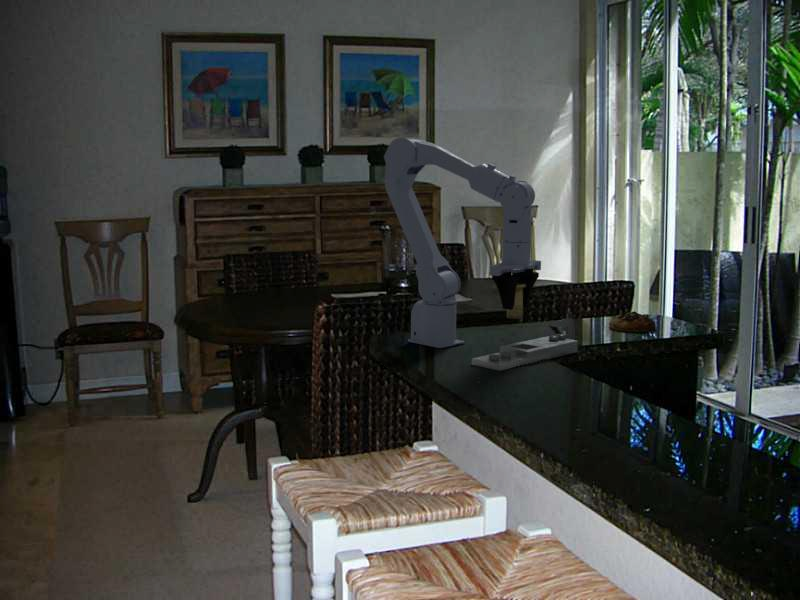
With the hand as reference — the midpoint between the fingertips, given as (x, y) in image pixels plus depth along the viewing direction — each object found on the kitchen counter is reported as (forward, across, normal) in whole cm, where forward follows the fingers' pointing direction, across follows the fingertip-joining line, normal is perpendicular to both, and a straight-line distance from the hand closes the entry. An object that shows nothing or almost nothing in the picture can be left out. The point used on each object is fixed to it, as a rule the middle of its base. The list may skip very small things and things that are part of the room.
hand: (514, 307), depth 194 cm
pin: (+2, 0, 0) cm, 2 cm away
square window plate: (+9, -9, -6) cm, 14 cm away
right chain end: (+9, 0, -6) cm, 11 cm away
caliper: (+10, +24, +5) cm, 26 cm away
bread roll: (+10, +40, -3) cm, 42 cm away
